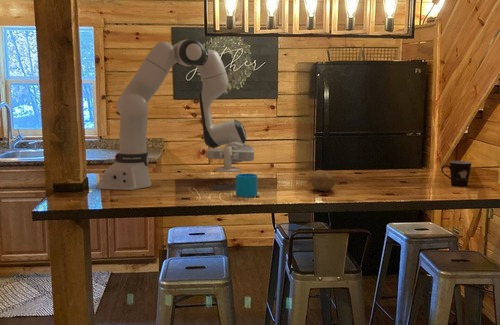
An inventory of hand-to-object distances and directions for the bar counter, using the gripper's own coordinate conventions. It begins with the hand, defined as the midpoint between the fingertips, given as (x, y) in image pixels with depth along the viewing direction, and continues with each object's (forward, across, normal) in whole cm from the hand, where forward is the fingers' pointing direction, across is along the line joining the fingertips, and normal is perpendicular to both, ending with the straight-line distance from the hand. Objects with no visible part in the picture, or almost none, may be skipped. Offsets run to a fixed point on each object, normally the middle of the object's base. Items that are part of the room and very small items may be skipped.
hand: (227, 156), depth 216 cm
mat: (-1, +1, +13) cm, 13 cm away
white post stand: (-1, 0, +6) cm, 6 cm away
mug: (+10, +10, +14) cm, 20 cm away
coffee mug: (-23, +95, +12) cm, 99 cm away
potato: (-2, +39, +13) cm, 41 cm away
